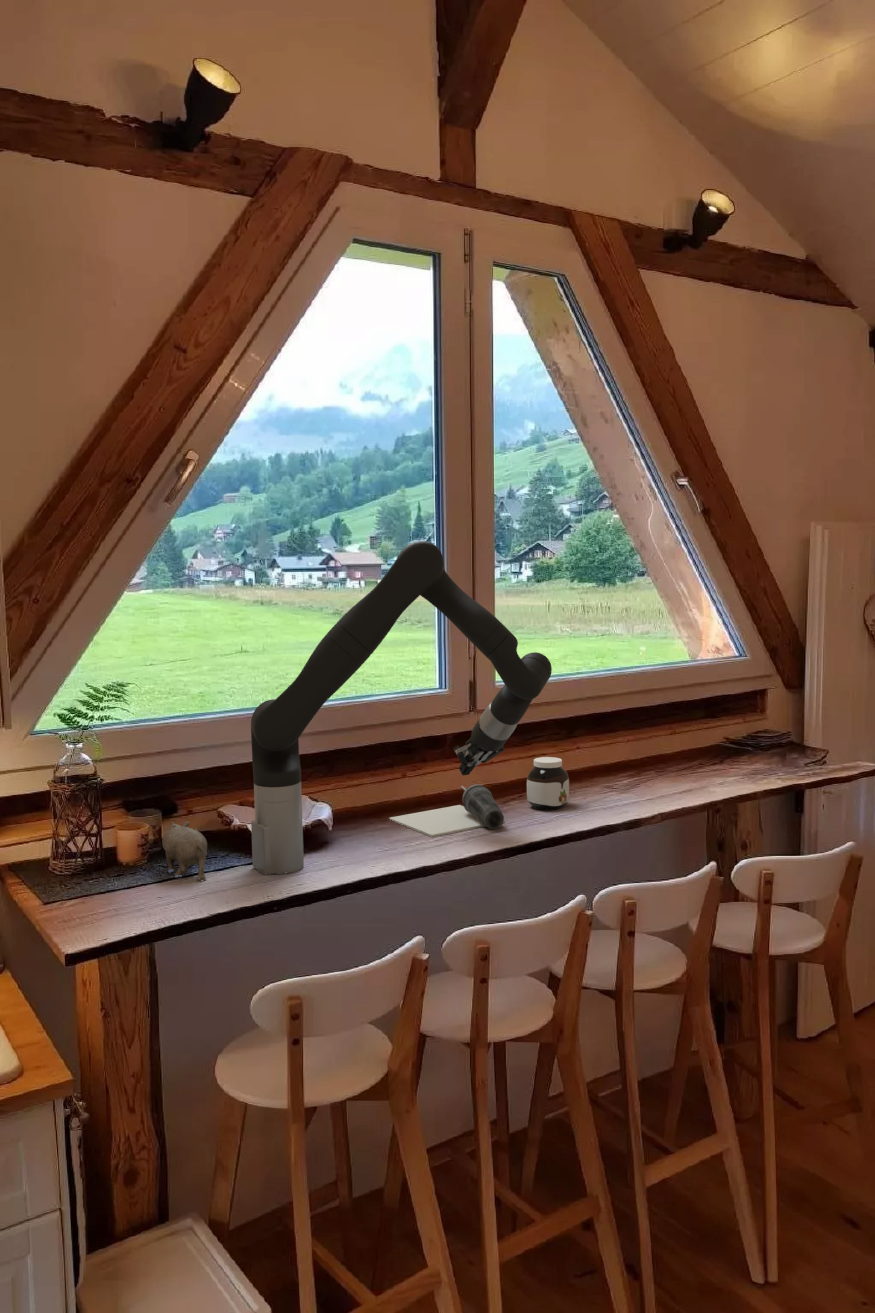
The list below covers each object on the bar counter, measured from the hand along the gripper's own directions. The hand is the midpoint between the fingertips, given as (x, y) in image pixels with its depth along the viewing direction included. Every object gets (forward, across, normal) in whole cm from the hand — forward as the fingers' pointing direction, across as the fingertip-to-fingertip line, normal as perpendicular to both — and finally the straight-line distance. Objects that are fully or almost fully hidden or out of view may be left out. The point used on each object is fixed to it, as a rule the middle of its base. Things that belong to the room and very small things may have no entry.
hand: (463, 772), depth 225 cm
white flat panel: (+14, 0, +4) cm, 15 cm away
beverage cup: (+4, -4, +11) cm, 13 cm away
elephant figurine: (+15, +62, +4) cm, 64 cm away
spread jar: (+13, -28, +6) cm, 31 cm away
